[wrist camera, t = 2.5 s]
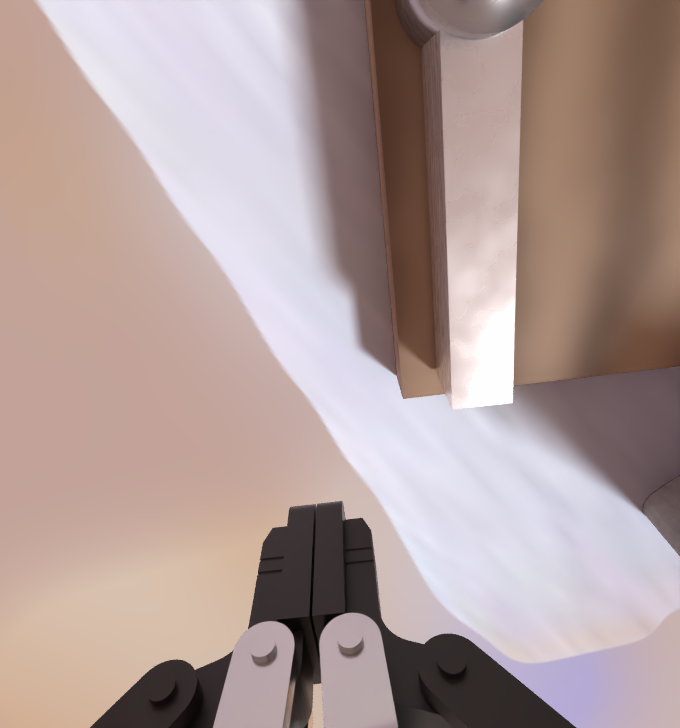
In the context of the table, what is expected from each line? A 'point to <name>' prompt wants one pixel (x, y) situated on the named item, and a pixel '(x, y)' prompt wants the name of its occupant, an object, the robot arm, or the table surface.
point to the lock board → (554, 191)
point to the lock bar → (472, 185)
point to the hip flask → (666, 512)
